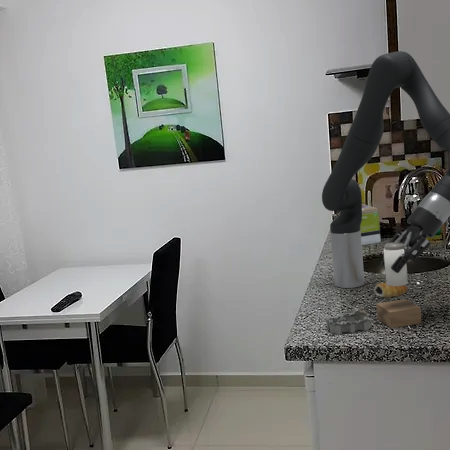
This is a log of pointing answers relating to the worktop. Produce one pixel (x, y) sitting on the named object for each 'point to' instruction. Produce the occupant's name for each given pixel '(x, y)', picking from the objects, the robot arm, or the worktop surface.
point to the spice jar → (390, 257)
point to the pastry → (389, 290)
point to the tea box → (370, 225)
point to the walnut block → (398, 313)
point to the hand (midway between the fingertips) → (389, 268)
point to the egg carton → (349, 322)
